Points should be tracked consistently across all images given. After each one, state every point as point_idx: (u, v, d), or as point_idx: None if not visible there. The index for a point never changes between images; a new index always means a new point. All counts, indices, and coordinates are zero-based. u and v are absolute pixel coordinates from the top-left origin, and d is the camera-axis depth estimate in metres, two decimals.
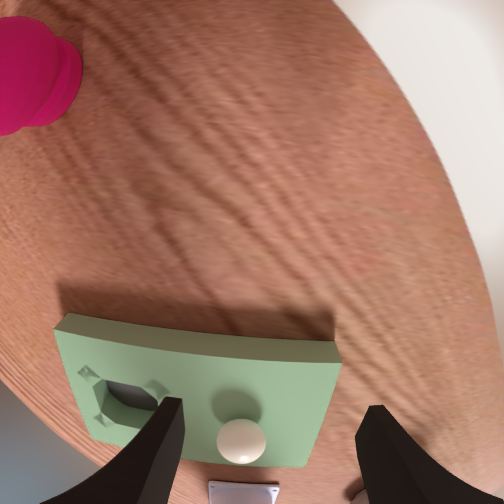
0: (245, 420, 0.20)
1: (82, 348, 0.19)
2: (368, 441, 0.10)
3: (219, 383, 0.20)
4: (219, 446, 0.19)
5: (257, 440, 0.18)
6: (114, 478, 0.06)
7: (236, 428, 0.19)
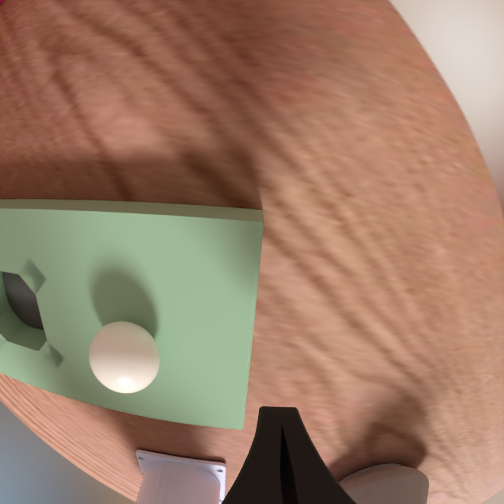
0: (129, 322, 0.14)
1: None
2: None
3: (95, 259, 0.14)
4: None
5: (137, 348, 0.13)
6: (249, 499, 0.06)
7: (110, 327, 0.13)
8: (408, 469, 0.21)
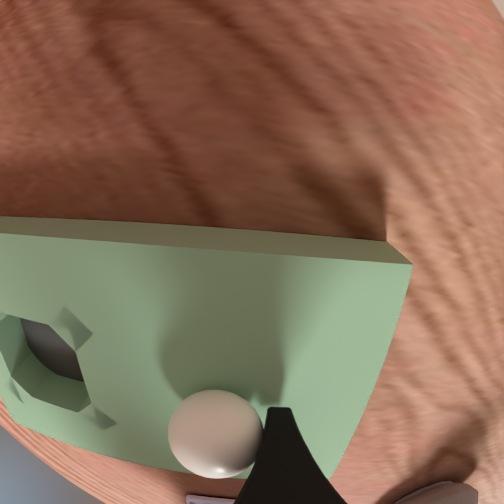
0: (225, 392, 0.10)
1: None
2: None
3: (174, 312, 0.10)
4: (169, 439, 0.09)
5: (244, 433, 0.09)
6: (261, 500, 0.06)
7: (203, 404, 0.09)
8: (463, 486, 0.17)
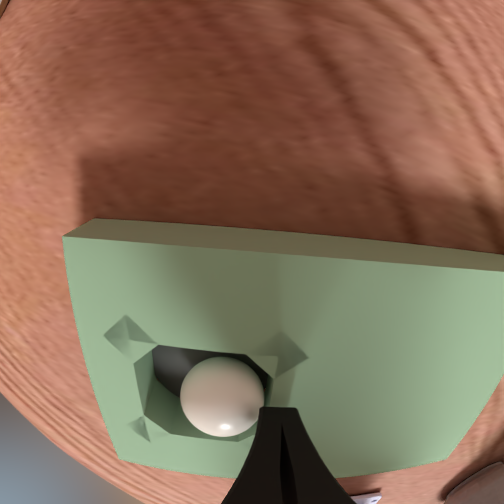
0: (214, 359, 0.12)
1: (122, 274, 0.10)
2: None
3: (405, 325, 0.10)
4: (200, 421, 0.11)
5: (253, 379, 0.12)
6: (249, 500, 0.06)
7: (213, 375, 0.11)
8: None
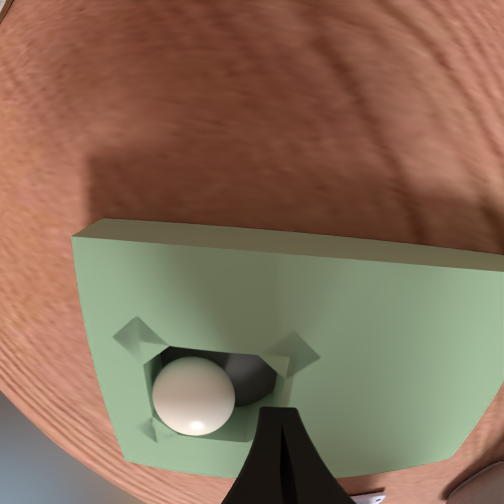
0: (198, 359, 0.12)
1: (133, 275, 0.10)
2: None
3: (415, 325, 0.10)
4: (152, 397, 0.12)
5: (204, 397, 0.11)
6: (249, 500, 0.06)
7: (175, 369, 0.12)
8: None
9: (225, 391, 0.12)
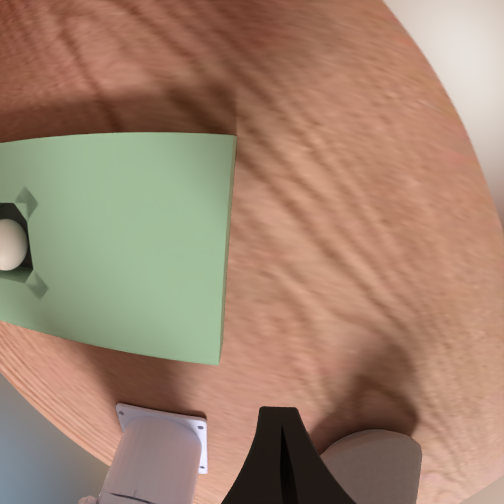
0: (8, 219, 0.17)
1: None
2: None
3: (84, 178, 0.15)
4: None
5: (4, 232, 0.15)
6: (249, 500, 0.06)
7: None
8: (399, 434, 0.22)
9: (17, 232, 0.16)
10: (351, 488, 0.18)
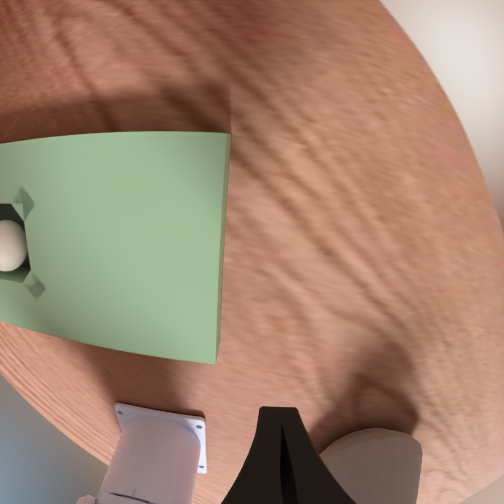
0: (7, 220, 0.17)
1: None
2: None
3: (79, 178, 0.15)
4: None
5: (6, 232, 0.16)
6: (249, 500, 0.06)
7: None
8: (398, 432, 0.22)
9: (19, 232, 0.17)
10: (350, 487, 0.18)
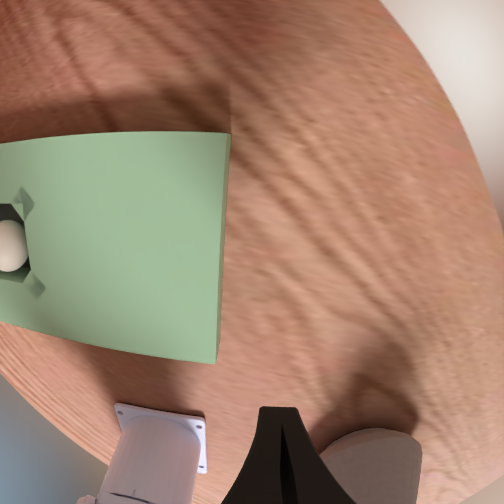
0: (8, 220, 0.17)
1: None
2: None
3: (79, 178, 0.15)
4: None
5: (10, 232, 0.16)
6: (249, 500, 0.06)
7: None
8: (398, 432, 0.22)
9: (22, 231, 0.17)
10: (350, 487, 0.18)
